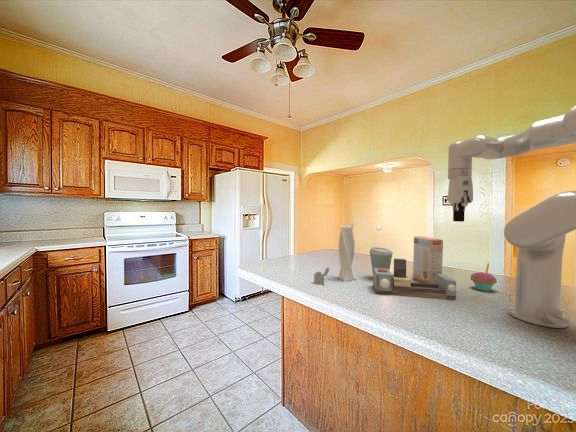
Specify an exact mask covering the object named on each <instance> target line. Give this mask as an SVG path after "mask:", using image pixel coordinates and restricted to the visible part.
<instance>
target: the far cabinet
mask: <svg viewBox="0 0 576 432" xmlns="http://www.w3.org/2000/svg"><path fill="white" fill-rule="evenodd" d="M386 270H387V272H378V268H373V271H372V286H373V285H374V286H375V288H376V290H383V291H393V274H394V273H392V272H391V271H389V270H388V269H386ZM376 293H377V291H376V292H375V294H376ZM387 293H388V292H387ZM387 293H386V294H387ZM386 294H385V295H386ZM388 294H389V293H388ZM377 295H384V294H383V293H382V294H381V293H380V294H379V292H378V294H377ZM389 296H393V295H392V293H390V295H389Z"/></svg>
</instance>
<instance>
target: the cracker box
mask: <svg viewBox="0 0 576 432" xmlns="http://www.w3.org/2000/svg"><path fill="white" fill-rule="evenodd" d="M443 248H444V240H443V239H439V238H434V237H428V236H413V262H412V263H413V266H412V268H413V269H412V279H414V280H416V281H417V282H418V283H429V284H436V274H443V253H444V252H443V251H444V249H443Z"/></svg>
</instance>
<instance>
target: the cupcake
mask: <svg viewBox="0 0 576 432" xmlns="http://www.w3.org/2000/svg"><path fill="white" fill-rule="evenodd" d="M489 268H490V261H488V262H487V263H486V269H485V272H484V271H483V272H481V271H480V272H475V273H472V274H471V275H470V280H471V281H472V282H473V284H474V287H475V289H476V290H479V291H482V292H490V291H491V290H492V288H493V286H494V284H497V278H496V277H495V276H494V275H492V274H490V273H488V272H489Z"/></svg>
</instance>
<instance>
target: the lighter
mask: <svg viewBox="0 0 576 432" xmlns="http://www.w3.org/2000/svg"><path fill="white" fill-rule="evenodd" d="M330 270H331V267H330V266H326V268H325V270H324V272H323V273H322V271H316V272H315V273H313V284H314V283H316V284H315V285H322V286H323V285H324V284H325V277H327V275H328V273H329V271H330Z"/></svg>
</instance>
